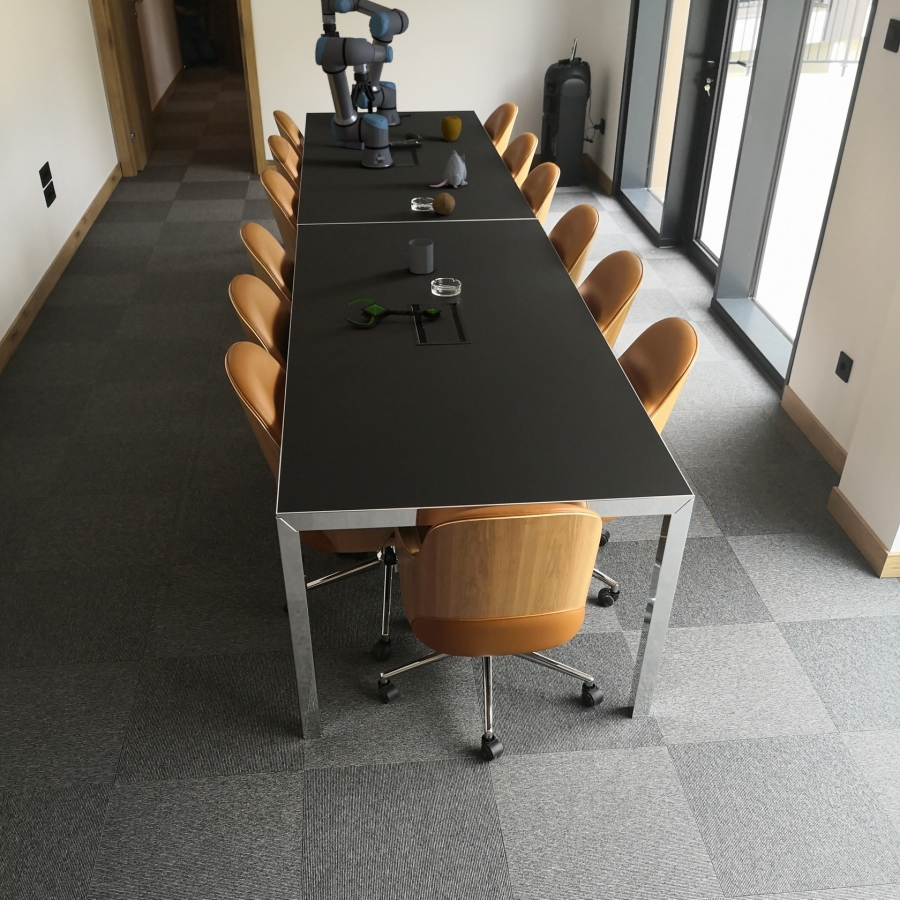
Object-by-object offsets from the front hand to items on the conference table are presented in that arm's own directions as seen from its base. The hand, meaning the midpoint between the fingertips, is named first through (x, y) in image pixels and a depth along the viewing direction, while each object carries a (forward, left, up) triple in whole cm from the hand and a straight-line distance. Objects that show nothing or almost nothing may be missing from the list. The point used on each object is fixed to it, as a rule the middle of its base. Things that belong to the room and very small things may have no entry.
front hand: (363, 117), depth 444 cm
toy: (+33, +75, -17) cm, 84 cm away
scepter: (+163, +144, -17) cm, 218 cm away
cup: (+123, +126, -17) cm, 176 cm away
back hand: (-48, -62, +14) cm, 79 cm away
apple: (-42, +26, -17) cm, 52 cm away
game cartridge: (0, -8, -17) cm, 18 cm away
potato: (+65, +95, -17) cm, 116 cm away
